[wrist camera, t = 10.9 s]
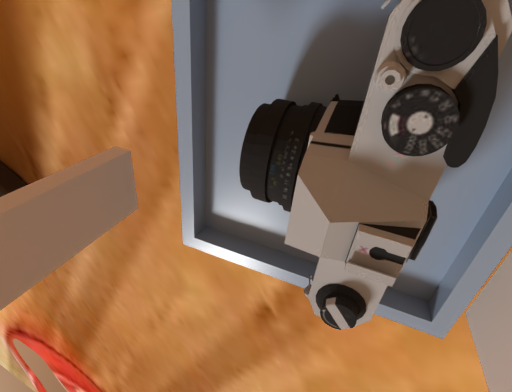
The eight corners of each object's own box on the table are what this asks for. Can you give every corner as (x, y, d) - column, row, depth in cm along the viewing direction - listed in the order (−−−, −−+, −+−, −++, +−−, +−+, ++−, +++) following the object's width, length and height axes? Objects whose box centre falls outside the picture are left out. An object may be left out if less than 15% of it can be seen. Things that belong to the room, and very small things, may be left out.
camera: (286, -20, 13) (162, -37, 6) (484, -17, 11) (618, -38, 4) (270, 207, 21) (205, 310, 14) (386, 238, 18) (376, 381, 12)
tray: (199, 226, 24) (182, 244, 22) (197, -58, 15) (168, -71, 13) (437, 307, 19) (442, 338, 17) (663, -37, 10) (731, -54, 8)
